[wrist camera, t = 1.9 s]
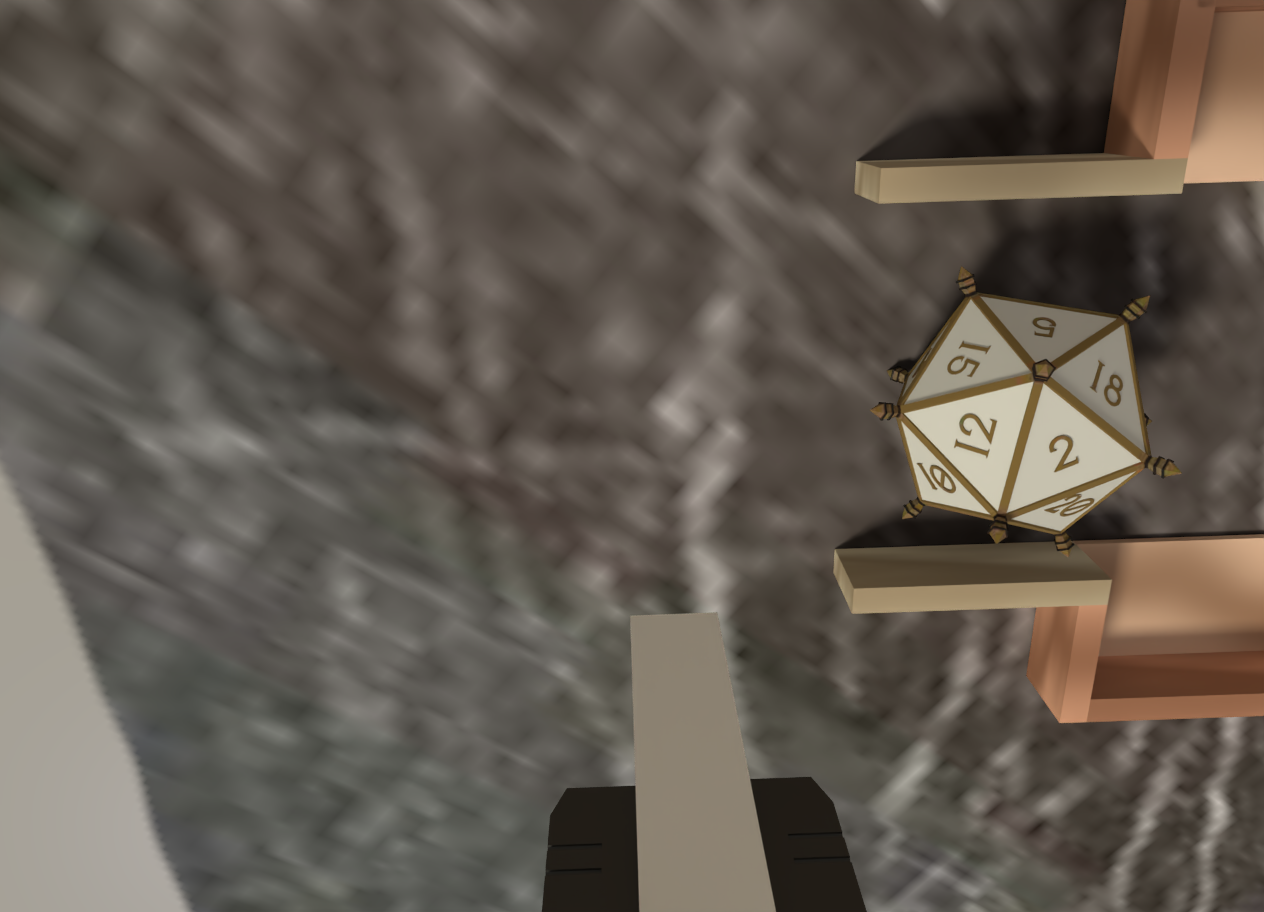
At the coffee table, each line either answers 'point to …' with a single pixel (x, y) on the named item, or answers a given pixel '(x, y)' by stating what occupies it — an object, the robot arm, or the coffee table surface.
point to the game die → (1024, 413)
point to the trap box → (1119, 568)
